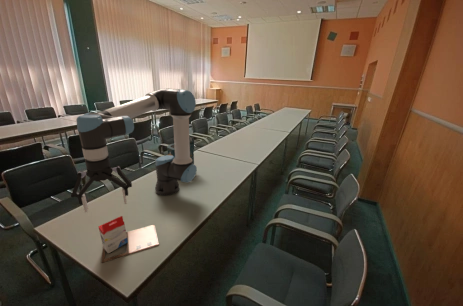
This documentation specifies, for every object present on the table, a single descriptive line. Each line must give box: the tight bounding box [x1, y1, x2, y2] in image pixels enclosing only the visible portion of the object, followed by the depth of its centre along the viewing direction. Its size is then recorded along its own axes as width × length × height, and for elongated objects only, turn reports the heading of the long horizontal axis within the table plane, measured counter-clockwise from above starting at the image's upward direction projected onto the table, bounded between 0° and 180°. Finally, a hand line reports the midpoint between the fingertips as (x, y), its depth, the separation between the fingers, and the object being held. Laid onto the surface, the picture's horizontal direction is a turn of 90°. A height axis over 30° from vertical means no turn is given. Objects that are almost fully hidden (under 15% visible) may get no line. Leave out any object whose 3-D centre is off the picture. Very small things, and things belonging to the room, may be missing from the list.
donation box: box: [166, 135, 195, 165], centre depth 159 cm, size 16×16×28 cm
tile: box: [127, 224, 160, 255], centre depth 95 cm, size 12×14×1 cm
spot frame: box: [101, 231, 130, 264], centre depth 90 cm, size 10×14×1 cm
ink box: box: [98, 215, 128, 254], centre depth 87 cm, size 8×5×15 cm, turn 141°
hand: (106, 206), depth 83 cm, fingers open, 13 cm apart
